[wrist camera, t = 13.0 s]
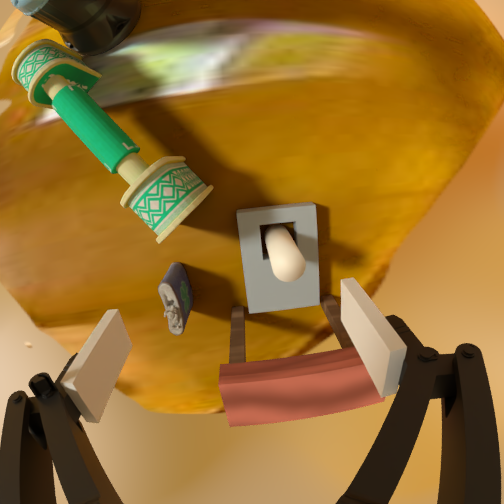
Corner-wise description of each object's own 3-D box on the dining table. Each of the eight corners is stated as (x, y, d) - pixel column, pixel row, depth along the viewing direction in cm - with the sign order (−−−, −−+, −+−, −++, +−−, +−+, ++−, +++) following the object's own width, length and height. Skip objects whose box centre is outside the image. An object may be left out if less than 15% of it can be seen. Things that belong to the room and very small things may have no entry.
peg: (263, 225, 48) (270, 252, 35) (287, 222, 48) (304, 248, 35) (265, 249, 49) (273, 283, 36) (289, 246, 49) (306, 279, 36)
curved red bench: (227, 281, 51) (218, 384, 27) (331, 268, 51) (394, 356, 27) (233, 316, 53) (229, 426, 29) (331, 304, 53) (384, 401, 29)
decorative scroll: (214, 187, 46) (202, 201, 32) (177, 223, 48) (151, 252, 33) (82, 55, 37) (35, 32, 23) (52, 91, 39) (1, 79, 24)
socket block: (236, 209, 47) (236, 213, 44) (311, 201, 47) (315, 204, 44) (248, 305, 52) (249, 313, 49) (315, 296, 52) (319, 304, 49)
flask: (168, 262, 49) (152, 289, 39) (185, 260, 49) (171, 286, 39) (181, 309, 52) (169, 344, 42) (196, 307, 52) (187, 342, 42)
